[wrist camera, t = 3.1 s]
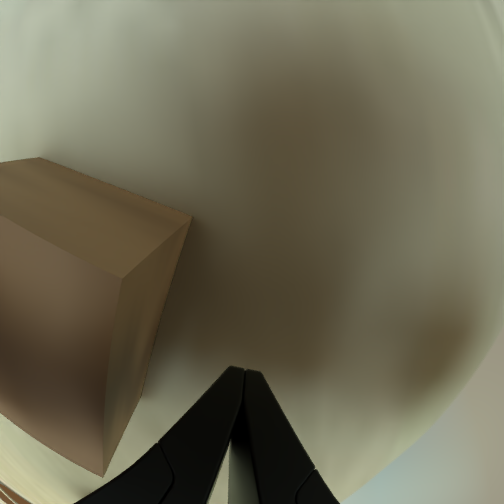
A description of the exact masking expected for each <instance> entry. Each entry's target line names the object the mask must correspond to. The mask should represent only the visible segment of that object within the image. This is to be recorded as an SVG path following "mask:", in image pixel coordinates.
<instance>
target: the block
mask: <svg viewBox="0 0 504 504" xmlns="http://www.w3.org/2000/svg"><path fill="white" fill-rule="evenodd" d="M192 218H193V217H192V216H190V215H187V214H185V213H182V212H180V211H177V210H175V209H172V208H170V207H167V206H164V205H162V204H159V203H157V202H154V201H152V200H149V199H147V198H144V197H141V196H139V195H136V194H134V193H131V192H129V191H126V190H124V189H121V188H118V187H116V186H113V185H111V184H108V183H105V182H103V181H100V180H98V179H95V178H92V177H90V176H87V175H85V174H82V173H79V172H77V171H74V170H72V169H69V168H66V167H64V166H61V165H58V164H56V163H53V162H50V161H48V160H45V159H43V158H40V157H38V158H30V159H22V160H15V161H8V162H2V163H0V413H1V414H2V415H4V416H5V417H6V418H7V419H9V420H10V421H11V422H13V423H14V424H15V425H17V426H18V427H19V428H21V429H22V430H23V431H25V432H26V433H27V434H29V435H30V436H32V437H33V438H35V439H36V440H38V441H39V442H41V443H42V444H44V445H45V446H47V447H48V448H50V449H51V450H53V451H55V452H56V453H58V454H60V455H61V456H63V457H65V458H66V459H68V460H70V461H72V462H73V463H75V464H77V465H79V466H81V467H83V468H85V469H86V470H88V471H90V472H92V473H94V474H96V475H98V476H100V477H104V475H105V473H106V470H107V468H108V466H109V464H110V461H111V459H112V457H113V455H114V453H115V451H116V448H117V446H118V444H119V442H120V440H121V438H122V435H123V433H124V431H125V429H126V427H127V425H128V423H129V421H130V418H131V416H132V414H133V412H134V410H135V408H136V406H137V404H138V402H139V400H140V398H141V393H142V389H143V385H144V381H145V376H146V372H147V368H148V364H149V360H150V356H151V353H152V349H153V345H154V341H155V338H156V334H157V330H158V327H159V323H160V319H161V316H162V312H163V309H164V305H165V302H166V299H167V295H168V292H169V289H170V285H171V282H172V279H173V276H174V272H175V269H176V266H177V263H178V260H179V257H180V254H181V250H182V247H183V244H184V241H185V238H186V235H187V232H188V230H189V227H190V224H191V221H192Z"/></svg>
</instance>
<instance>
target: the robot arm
mask: <svg viewBox="0 0 504 504" xmlns="http://www.w3.org/2000/svg"><path fill="white" fill-rule="evenodd" d="M229 443H230V450H229V485H228V504H340V503H339V502H338V501H337V499H336V498H335V497H334V495H333V494H332V492H331V491H330V489H329V488H328V486H327V485H326V483H325V482H324V480H323V479H322V477H321V475H320V474H319V472H318V470H317V469H315V466H314V464H313V462H312V461H311V459H310V457H309V456H308V454H307V452H306V451H305V449H304V447H303V446H302V444H301V442H300V440H299V439H298V437H297V435H296V433H295V432H294V430H293V428H292V426H291V425H290V423H289V421H288V419H287V418H286V416H285V414H284V412H283V411H282V409H281V407H280V405H279V403H278V402H277V400H276V398H275V396H274V394H273V393H272V391H271V389H270V387H269V385H268V383H267V382H266V380H265V378H264V376H263V374H262V373H261V372H260V371H256V370H250V369H246V370H244V368H240V367H235V366H229V367H228V368H227V369H226V370H225V371H224V372H223V373H222V374H221V376H220V377H219V378H218V379H217V380H216V381H215V382H214V383H213V384H212V385H211V386H210V388H209V389H208V390H207V391H206V392H205V393H204V394H203V395H202V396H201V397H200V398H199V399H198V400H197V402H196V403H195V404H194V405H193V406H192V407H191V408H190V409H189V410H188V411H187V412H186V413H185V414H184V415H183V416H182V417H181V418H180V419H179V420H178V421H177V422H176V423H175V424H174V425H173V427H172V428H171V429H170V430H169V431H168V432H167V433H166V434H165V435H164V436H163V437H162V438H161V439H160V440H159V441H158V443H155V444H154V445H153V446H152V447H151V448H150V449H149V450H148V451H147V452H146V453H145V454H144V455H143V456H142V457H141V458H140V459H138V460H137V461H136V462H135V463H134V464H133V465H132V466H130V467H129V468H128V469H126V470H125V471H124V472H122V473H121V474H119V475H118V476H117V477H115V478H114V479H112V480H111V481H109V482H108V483H106V484H105V485H103V486H102V487H100V488H98V489H97V490H95V491H94V492H92V493H90V494H89V495H87V496H86V497H84V498H82V499H81V500H79V501H77V502H76V503H74V504H208V503H209V500H210V498H211V495H212V492H213V489H214V487H215V484H216V481H217V478H218V475H219V472H220V470H221V467H222V464H223V461H224V458H225V455H226V452H227V449H228V446H229ZM314 469H315V470H314Z"/></svg>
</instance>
